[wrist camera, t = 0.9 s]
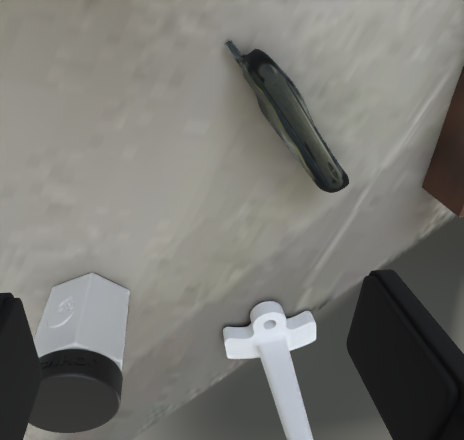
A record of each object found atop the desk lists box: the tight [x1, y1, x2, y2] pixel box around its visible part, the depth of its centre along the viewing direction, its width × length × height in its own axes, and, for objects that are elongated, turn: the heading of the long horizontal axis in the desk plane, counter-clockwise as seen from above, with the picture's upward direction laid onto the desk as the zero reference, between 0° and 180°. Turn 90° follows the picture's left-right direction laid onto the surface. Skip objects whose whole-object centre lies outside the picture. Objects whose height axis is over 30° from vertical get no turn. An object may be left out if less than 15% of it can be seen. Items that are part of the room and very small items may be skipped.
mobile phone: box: [225, 41, 349, 193], centre depth 31 cm, size 5×3×15 cm
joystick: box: [223, 301, 316, 440], centre depth 39 cm, size 11×8×20 cm
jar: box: [28, 273, 130, 433], centre depth 37 cm, size 9×8×12 cm
